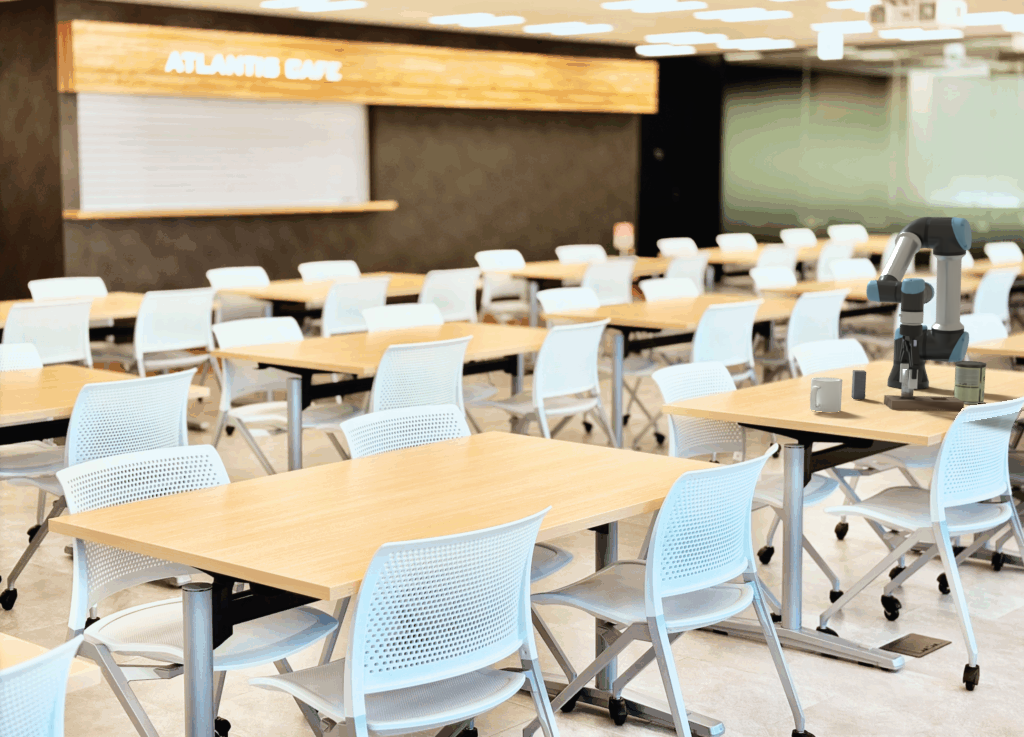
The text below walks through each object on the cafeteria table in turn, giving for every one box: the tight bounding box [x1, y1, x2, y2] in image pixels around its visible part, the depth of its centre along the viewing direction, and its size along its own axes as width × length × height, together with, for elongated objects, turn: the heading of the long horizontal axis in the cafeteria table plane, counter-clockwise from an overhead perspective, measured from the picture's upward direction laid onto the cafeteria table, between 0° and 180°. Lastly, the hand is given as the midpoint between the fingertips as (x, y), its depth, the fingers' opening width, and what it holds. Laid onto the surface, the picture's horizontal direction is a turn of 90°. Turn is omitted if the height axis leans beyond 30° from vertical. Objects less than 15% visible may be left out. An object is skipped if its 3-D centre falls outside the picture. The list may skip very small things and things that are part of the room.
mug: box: [809, 376, 843, 412], centre depth 443 cm, size 14×10×11 cm
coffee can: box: [953, 360, 987, 405], centre depth 466 cm, size 10×10×14 cm
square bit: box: [851, 369, 867, 400], centre depth 471 cm, size 4×4×10 cm
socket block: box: [883, 394, 965, 412], centre depth 454 cm, size 12×24×3 cm, turn 86°
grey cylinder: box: [900, 369, 915, 400], centre depth 454 cm, size 4×4×13 cm
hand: (908, 385), depth 454 cm, fingers open, 13 cm apart
